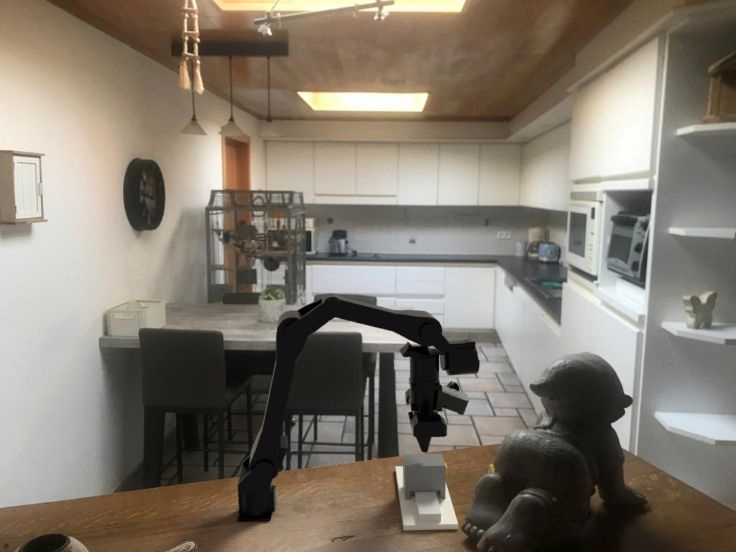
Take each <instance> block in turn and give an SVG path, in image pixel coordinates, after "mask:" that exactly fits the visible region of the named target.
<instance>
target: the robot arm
mask: <svg viewBox="0 0 736 552" xmlns="http://www.w3.org/2000/svg"><path fill="white" fill-rule="evenodd" d="M334 319H339V320H343V321H348V322H352V323H354V324H355V323H356V324H360V325H364V326H368V327H372V328H375V329H379V330H380V329H381V330H384V331H388V332H393V333H394V334H397V335H399V336H401V337H402V338H404V339H407V340H408V341H407V342H406V343H405V345H403V346H402V347H401V348H400V349H398V350H399V353H400V354H401V356H402V357H403V358H409V377H408V384H409V388H408V389H407V390H406V391H405V393H404V394H405V395H404V396H405V397H404V398H405V400H404V401H405V405H406V406H409V408H410V411H408V412H407V416H408V418H409V424H410V427H411V431H412V432H411V433H412V436H413V437H414V438H416V441H417V443H418V446H419V449H420V451H421V453H428V451H429V448H430V444H431V440H432V438H445V437H447V436H448V425H447V422H446V419H445V418H444V417H443V416H442V415H441V414H439V412H440V413H441V412H443V411H444V410H443V409H445V410H448V411H450V412H455V413H457V415H460V416H464V415H465V412H466V410H467V407H468V404H469V402H470V399H469V397H468V395H467V393H465V392H464V390H460V384H459V383H458V382H456V381H453V380H451V381H449V382H448V383H447V384H444V385H443V384H441V380H440V369H441V370H442V371H443V372H445V373H446V374H447V376H448V377H449V376H463V375H465V376H466V375H477V374H478V373H479V371H480V363H481V361H480V359H479V354H478V350H477V347H476V341H475V340H473V339H472V338H469V339H468V338H466V339H463V340H448V339H447V338H446V337H445V336H444V335H443V326H442V324H441V322H440V321H439V320H438V319H437V318H436V317H435V316H434V315H433V314H432V313H430V312H429V311H426V310H418V309H417V310H414V309H399V310H398V309H393V308H392V309H391V308H387V307H384V306H380V305H377V304H372V303H367V302H365V301H359V300H355V299H351V298H348V297H344V296H340V295H338V294H336V293H330V292H329V293H326V294H325V295H324V296H323V297H321V298H319V299H318V300H315V301H312V302H311V303H308V304H305V305H303V306H302V307H300V308H299V309H297V310H295V309H293V310H286V311H285V312H283V313H282V314H280V315H279V317H278V320H277V322H276V323H277V324H276V340H275V341H276V345H275V346H276V347H275V363H274V367H273V372H272V378H271V382H270V385H269V391H268V392H269V393H268V398H267V400H266V401H267V403H266V407H265V412H264V417H263V421H262V425H261V427H260V429H259V431H258V433H257V434H256V437H255V439H254V442H253V444H252V447H251V450H250V454H249V455H248V456H247V457H246V458H245V459H244V460H243V461H242V462H241V463H240V464H241V465H240V471H239V474H238V475H239V476H238V481H237V499H238V504H237V505H238V513H237V516H236V521H237V522H257V521H258V522H259V521H261V522H263V521H267V522H268V521H271V520H272V517H273V515H274V514H273V513H275V512H276V509H277V504H278V502H277V486H276V485H275V484H274V479H276V478H277V476H278V475H279V473H280V469H281V470H282V471H283V470H284V469H285V467H284V464H285V462H284V460H285V457H286V455H287V451H288V435H282V434H281V433H282V431H283V430H282V428H283V424H284V420H285V415H286V410H287V405H288V400H289V395H290V391H291V387H292V381H293V378H294V371H295V368H296V364H297V362H298V361H299V358H300V356H301V354H302V353H303V350H304V347H305V345H306V343H307V341H308V340H307V339H308V337H309V336H311V335H312V334H314V333H316V332H318V331H319V330H320V329H321V328H322V327H324V326H326V325H327V323H329V322H331V321H332V320H334ZM409 341H411V342H413V343H415V344H417V345H412V344H411V343H410V342H409ZM431 347H432V348H431Z"/></svg>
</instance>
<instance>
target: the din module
mask: <svg viewBox="0 0 736 552" xmlns="http://www.w3.org/2000/svg"><path fill="white" fill-rule="evenodd" d="M402 466H403V489H404V496H405V500H410V491H438V492H439V495H440V499H445V494H446V485H447V481H446V479H447V476H448V474H449V473H448V468H449V467H448V465H447V462H445V460H444V456H443V453H420V454H417V453H414V454H413V453H412V454H402Z"/></svg>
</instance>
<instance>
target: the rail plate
mask: <svg viewBox="0 0 736 552" xmlns="http://www.w3.org/2000/svg"><path fill="white" fill-rule="evenodd" d="M395 477H396V483H397V491H398V492H397V493H398V497H399V499H398V500H399V505H400V506H399V508H400V513H401V514H400V515H401V520H402V528H403V531H428V530H431V531H432V530H435V531H436V530H459V522H458V518H457V516H456V515H457V514H456V513H455V509H454V506H453V502H452V499H451V495H450V492H449V488H448V486H447V484H446V494H445V499H440V495H439V492H438V491H410V500H405V496H404V489H403V465H402V466H399V465H398V466H395Z"/></svg>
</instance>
